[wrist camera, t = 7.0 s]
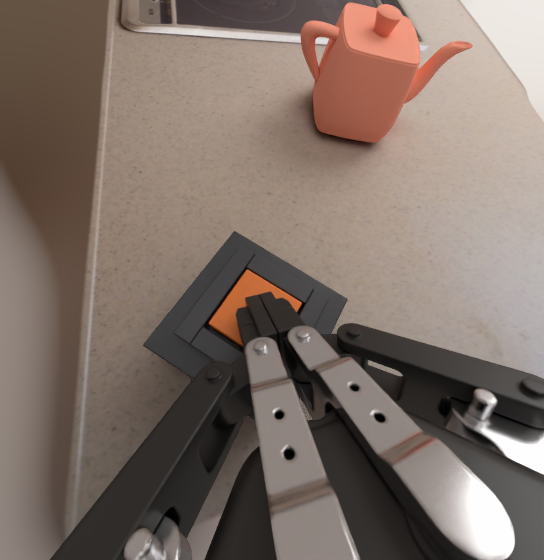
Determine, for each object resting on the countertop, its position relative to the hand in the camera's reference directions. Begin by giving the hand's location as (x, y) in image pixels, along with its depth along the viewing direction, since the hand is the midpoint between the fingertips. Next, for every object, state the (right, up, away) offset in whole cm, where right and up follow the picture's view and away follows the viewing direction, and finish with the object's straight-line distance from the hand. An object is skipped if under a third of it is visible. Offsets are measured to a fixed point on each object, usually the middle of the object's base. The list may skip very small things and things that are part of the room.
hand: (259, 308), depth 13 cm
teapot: (+12, +24, +20) cm, 33 cm away
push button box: (-1, -3, +8) cm, 8 cm away
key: (0, -1, +3) cm, 3 cm away
